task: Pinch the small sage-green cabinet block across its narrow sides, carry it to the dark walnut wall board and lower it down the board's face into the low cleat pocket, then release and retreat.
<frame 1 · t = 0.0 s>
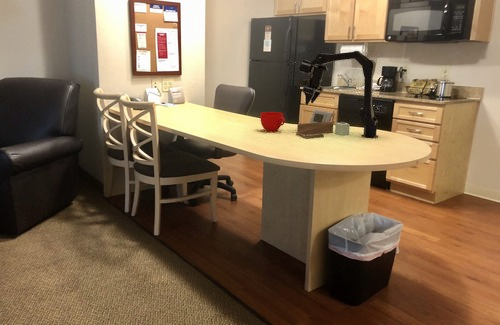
hand: (309, 103, 220), 15 cm above the table, tool pointing down, fingers open, 9 cm apart
cabinet block: (341, 134, 215), on the table
ceramic cup: (273, 131, 223), on the table
digital clock: (319, 129, 231), on the table
wall board: (319, 135, 212), on the table
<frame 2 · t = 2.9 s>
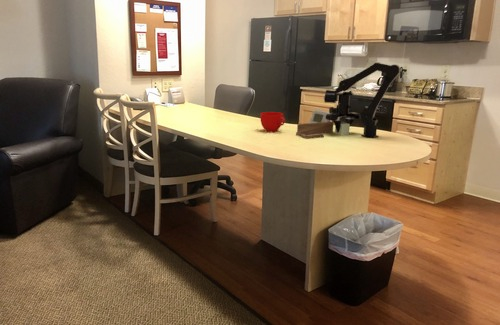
hand: (342, 132, 214), 1 cm above the table, tool pointing down, fingers closed on cabinet block, 5 cm apart
cabinet block: (341, 134, 215), on the table, touching gripper
everything else where it was.
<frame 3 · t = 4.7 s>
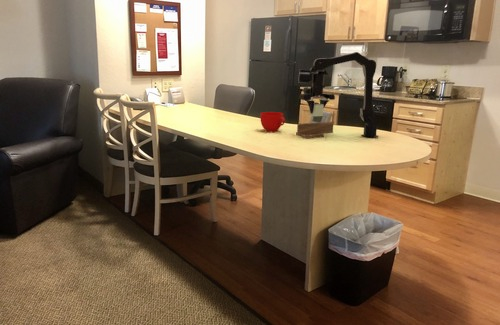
hand: (315, 113, 207), 12 cm above the table, tool pointing down, fingers closed on cabinet block, 5 cm apart
cabinet block: (315, 115, 208), point 11 cm above the table, touching gripper
everything else where it was.
when the fingers open (2 cm above the table, at t = 6.7 s): cabinet block drops 1 cm, on the table.
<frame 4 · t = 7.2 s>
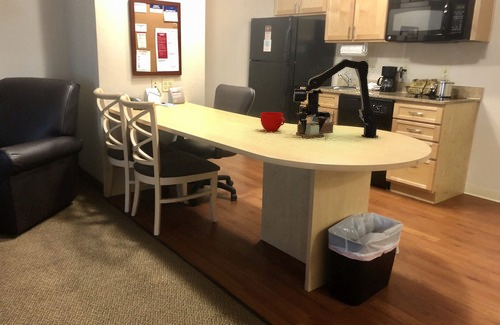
hand: (311, 131, 209), 2 cm above the table, tool pointing down, fingers open, 9 cm apart
cabinet block: (311, 136, 210), on the table
everything else where it was.
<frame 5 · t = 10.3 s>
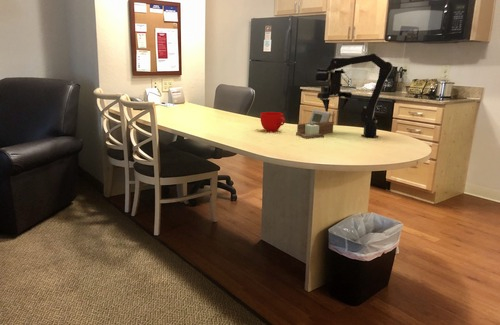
hand: (333, 111, 213), 13 cm above the table, tool pointing down, fingers open, 9 cm apart
nothing on the table moved.
at the end: cabinet block inside the target area (0.5 cm from its centre), on the table; cabinet block tilted 0°; the gripper is holding nothing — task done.
